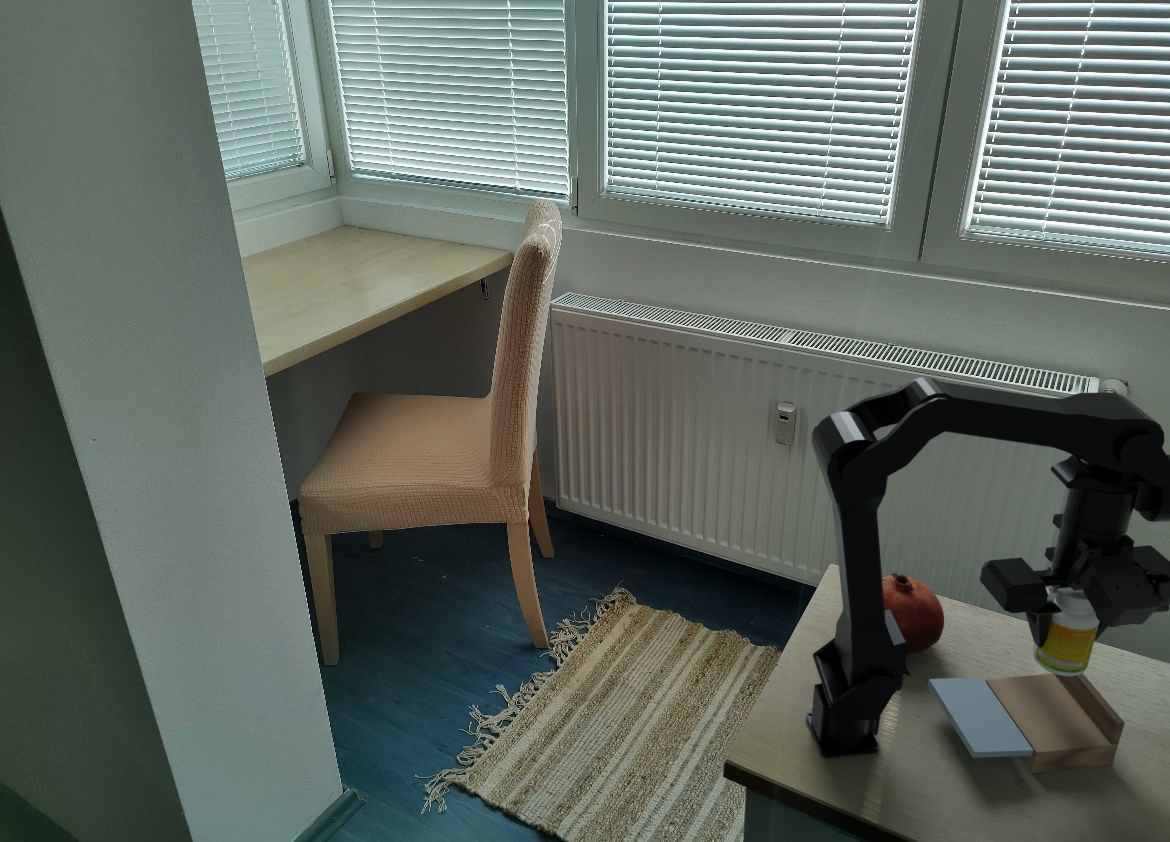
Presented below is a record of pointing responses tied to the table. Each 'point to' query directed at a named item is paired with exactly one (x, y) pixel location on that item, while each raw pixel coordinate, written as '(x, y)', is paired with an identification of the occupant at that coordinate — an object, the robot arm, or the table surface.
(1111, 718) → the brown platform with wall
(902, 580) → the fruit
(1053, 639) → the supplement bottle
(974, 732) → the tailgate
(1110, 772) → the table surface
